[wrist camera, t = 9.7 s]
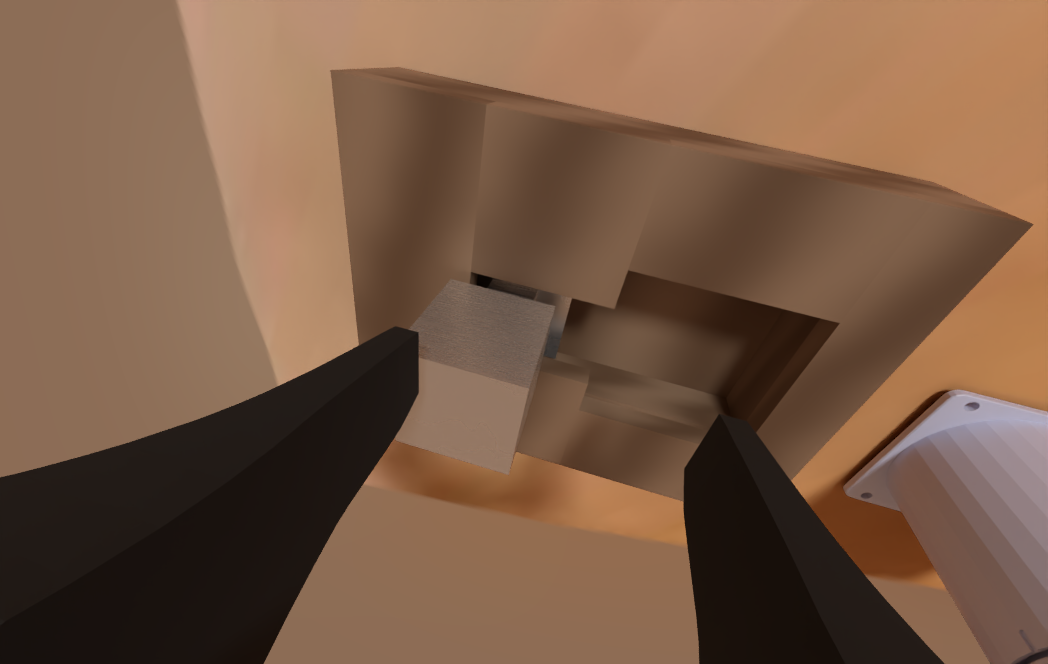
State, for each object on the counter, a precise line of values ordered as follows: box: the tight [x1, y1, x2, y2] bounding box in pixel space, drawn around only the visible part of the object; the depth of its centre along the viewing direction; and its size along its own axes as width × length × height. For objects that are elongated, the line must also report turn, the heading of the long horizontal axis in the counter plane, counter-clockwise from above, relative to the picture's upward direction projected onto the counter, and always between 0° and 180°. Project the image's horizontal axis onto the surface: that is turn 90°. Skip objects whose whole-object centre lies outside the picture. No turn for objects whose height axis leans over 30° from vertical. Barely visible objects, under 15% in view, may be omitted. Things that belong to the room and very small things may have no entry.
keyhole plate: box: [331, 67, 1033, 502], centre depth 18 cm, size 20×15×4 cm
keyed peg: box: [395, 274, 572, 475], centre depth 16 cm, size 5×5×8 cm
